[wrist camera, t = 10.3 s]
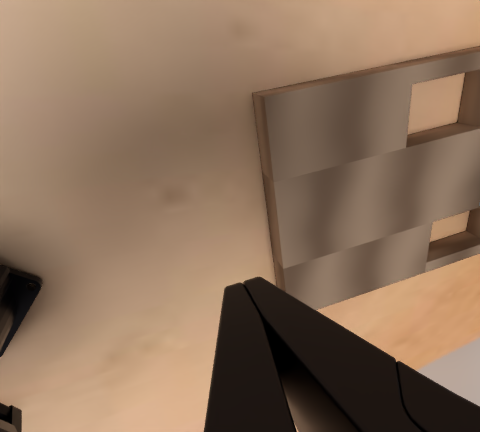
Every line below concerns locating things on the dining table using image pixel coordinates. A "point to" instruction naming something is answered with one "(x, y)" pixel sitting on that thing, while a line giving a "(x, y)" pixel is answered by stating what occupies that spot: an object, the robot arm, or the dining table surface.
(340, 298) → the board
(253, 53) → the dining table surface
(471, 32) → the dining table surface
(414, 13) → the dining table surface
